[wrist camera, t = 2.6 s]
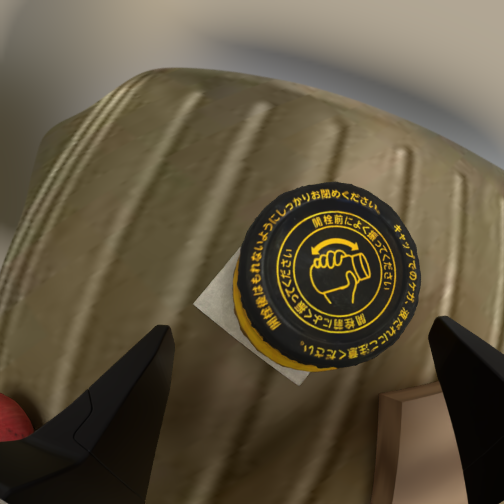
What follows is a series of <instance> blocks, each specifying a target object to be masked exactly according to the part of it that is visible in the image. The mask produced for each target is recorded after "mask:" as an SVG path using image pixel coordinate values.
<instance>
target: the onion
mask: <svg viewBox="0 0 504 504" xmlns="http://www.w3.org/2000/svg"><path fill="white" fill-rule="evenodd" d="M32 433H34V429H33V426H32V424H31V421H30V419H29V418H28V416H27V415H26V413H25V412H24V410H23V409H22V408H21V407H20V406H19V405H18V404H17V402H16V401H14V400H12V399H11V398H9V397H7V396H5V395H4V394H2V393H0V442H3V441H14V440H19V439H23V438H25V437H27V436H29V435H31V434H32Z"/></svg>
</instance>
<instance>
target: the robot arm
mask: <svg viewBox="0 0 504 504" xmlns="http://www.w3.org/2000/svg"><path fill="white" fill-rule="evenodd" d="M428 340H429V344H430V348H431V352H432V356H433V360H434V364H435V369H436V373H437V377H438V380H439V383H440V386H441V389H442V392H443V396H444V399H445V402H446V406H447V409H448V412H449V416H450V420H451V423H452V427H453V431H454V435H455V439H456V443H457V447H458V451H459V456H460V460H461V465H462V470H463V476H464V481H465V487H466V493H467V500H468V504H499V503H501V502H502V501H504V354H502V353H501V352H499V351H498V350H497V349H495V348H494V347H492V346H491V345H489V344H488V343H487V342H485V341H484V340H482V339H481V338H479V337H478V336H476V335H475V334H473V333H472V332H470V331H469V330H467V329H466V328H464V327H463V326H461V325H460V324H458V323H457V322H455V321H454V320H452V319H451V318H449V317H448V316H438V317H436V319H435V320H434V323H433V325H432V327H431V330H430V332H429V335H428ZM174 352H175V343H174V339H173V335H172V331H171V328H170V326H168V325H157V326H155V327H154V328H153V329H152V330H151V331H150V332H149V333H148V334H147V335H145V336H144V337H143V338H142V339H141V340H140V341H139V342H138V343H137V344H136V345H135V346H133V347H132V348H131V349H130V350H129V351H128V352H127V353H126V354H125V355H124V356H123V357H122V358H120V359H119V360H118V361H117V362H116V363H115V364H114V365H113V366H112V367H111V368H110V369H109V370H108V371H106V372H105V373H104V374H103V375H102V376H101V377H100V378H99V379H98V380H97V381H96V382H95V383H94V384H92V385H91V386H90V387H89V390H88V389H87V390H86V391H85V392H84V393H83V394H82V395H81V396H79V397H78V398H77V399H76V400H75V401H74V402H73V403H72V404H70V405H69V406H68V407H67V408H65V409H64V410H63V411H62V412H60V413H59V414H58V415H57V416H55V417H54V418H53V419H51V420H50V421H49V422H47V423H46V424H45V425H43V426H42V427H41V428H39V429H38V430H36V431H35V432H34V433H32V434H31V435H29V436H27V437H25V438H23V439H19V440H14V441H3V442H0V504H145V501H144V500H146V495H147V490H148V485H149V480H150V475H151V470H152V465H153V461H154V456H155V451H156V447H157V442H158V438H159V434H160V429H161V425H162V421H163V416H164V412H165V408H166V404H167V400H168V396H169V391H170V384H171V376H172V368H173V360H174Z"/></svg>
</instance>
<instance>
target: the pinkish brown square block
mask: <svg viewBox="0 0 504 504" xmlns="http://www.w3.org/2000/svg"><path fill="white" fill-rule="evenodd" d="M371 504H468V500H467V493H466V487H465V481H464V476H463V470H462V465H461V460H460V456H459V451H458V447H457V443H456V439H455V435H454V431H453V427H452V423H451V420H450V416H449V412H448V409H447V406H446V402H445V399H444V396H443V392H442V389H441V386H440V383H439V381H437V382H433V383H429V384H425V385H420V386H416V387H411V388H406V389H401V390H396V391H390V392H385V393H379V407H378V433H377V449H376V461H375V472H374V481H373V490H372V498H371Z"/></svg>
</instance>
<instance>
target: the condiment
mask: <svg viewBox="0 0 504 504" xmlns="http://www.w3.org/2000/svg"><path fill="white" fill-rule="evenodd" d="M420 286H421V273H420V266H419V259H418V255H417V247H416V244H415V242H414V240H413V239H412V237H411V235H410V233H409V231H408V230H407V228H406V227H405V225H404V224H403V222H402V221H401V219H400V217H399V216H398V215H397V213H396V212H395V211H394V210H393V209H392V207H390V206H389V205H388V204H386V203H385V202H383V201H382V200H380V199H379V198H378V197H376V196H375V195H373V194H372V193H370V192H369V191H367V190H365V189H362V188H359V187H356V186H354V185H352V184H346V183H339V182H326V183H320V184H315V185H307V186H302V187H300V188H296V189H295V190H292V191H288V192H285V193H283V194H281V195H279V196H278V197H277V198H276V199H275V200H274V201H272V202H271V203H270V204H269V205H267V206H266V207H265V208H264V209H263V210H262V212H261V213H260V214H259V215H258V217H257V218H255V221H254V222H253V224H252V225H251V226H250V228H249V230H248V231H247V233H246V236H245V239H244V241H243V243H242V246H241V247H240V248H239V249H238V251H237V252H236V253H235V254H234V256H233V257H232V258H231V259H230V260H229V261H228V263H227V264H226V265H225V267H224V268H223V269H222V270H221V271H220V272H219V273H218V275H217V276H216V277H215V278H214V279H213V281H212V282H211V283H210V284H209V286H208V287H207V288H206V289H205V290H204V292H203V293H202V294H201V295H200V296H199V298H198V299H197V300H196V301H195V302H194V305H195V306H196V307H197V308H198V309H200V310H201V311H202V312H203V313H204V314H206V315H207V316H208V317H209V318H211V319H212V320H213V321H214V322H215V323H217V324H218V325H219V326H220V327H222V328H223V329H224V330H225V331H227V332H228V333H229V334H230V335H232V336H233V337H234V338H235V339H237V340H238V341H239V342H241V343H242V344H243V345H244V346H246V347H247V348H248V349H250V350H251V351H252V352H253V353H255V354H256V355H257V356H259V357H260V358H261V359H263V360H264V361H265V362H267V363H268V364H269V365H271V366H272V367H273V368H275V369H276V370H277V371H279V372H280V373H281V374H283V375H284V376H286V377H287V378H288V379H290V380H291V381H293V382H294V383H295V384H297V385H298V386H300V385H301V383H302V382H303V381H304V380H305V378H306V377H307V376H308V374H309V373H310V372H322V371H327V370H334V369H338V368H343V367H350V366H356V365H357V364H360V363H362V362H366V361H368V360H370V359H373V358H375V357H377V356H378V355H379V354H380V353H382V352H383V351H384V350H386V349H387V348H388V347H390V346H392V345H393V344H394V343H395V342H396V341H397V340H398V339H399V337H400V335H401V334H402V333H403V332H404V330H405V328H406V326H407V325H408V324H409V322H410V321H411V319H412V317H413V315H414V312H415V310H416V307H417V305H418V295H419V291H420Z"/></svg>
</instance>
